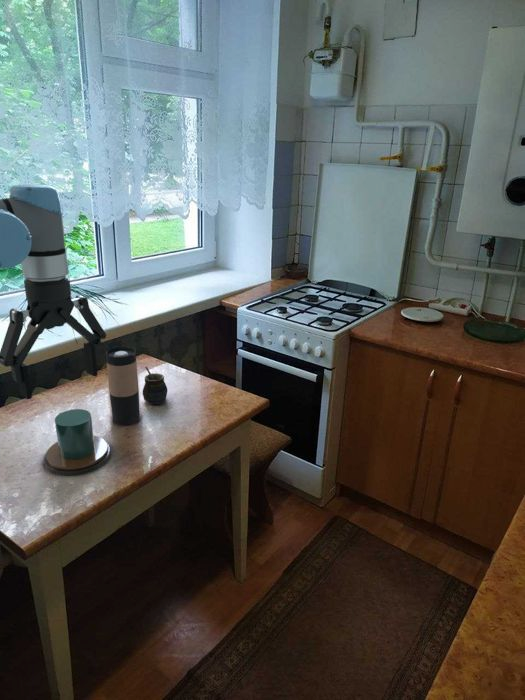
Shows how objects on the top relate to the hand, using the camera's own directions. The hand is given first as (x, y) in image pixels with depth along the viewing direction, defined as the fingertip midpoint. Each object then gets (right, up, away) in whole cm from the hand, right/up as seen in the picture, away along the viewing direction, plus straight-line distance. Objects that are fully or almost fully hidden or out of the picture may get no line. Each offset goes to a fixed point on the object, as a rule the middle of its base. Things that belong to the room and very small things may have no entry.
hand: (60, 384), depth 96 cm
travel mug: (+1, -12, +41) cm, 43 cm away
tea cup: (-6, -18, +23) cm, 30 cm away
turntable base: (-6, -19, +24) cm, 31 cm away
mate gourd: (+7, -9, +51) cm, 53 cm away
